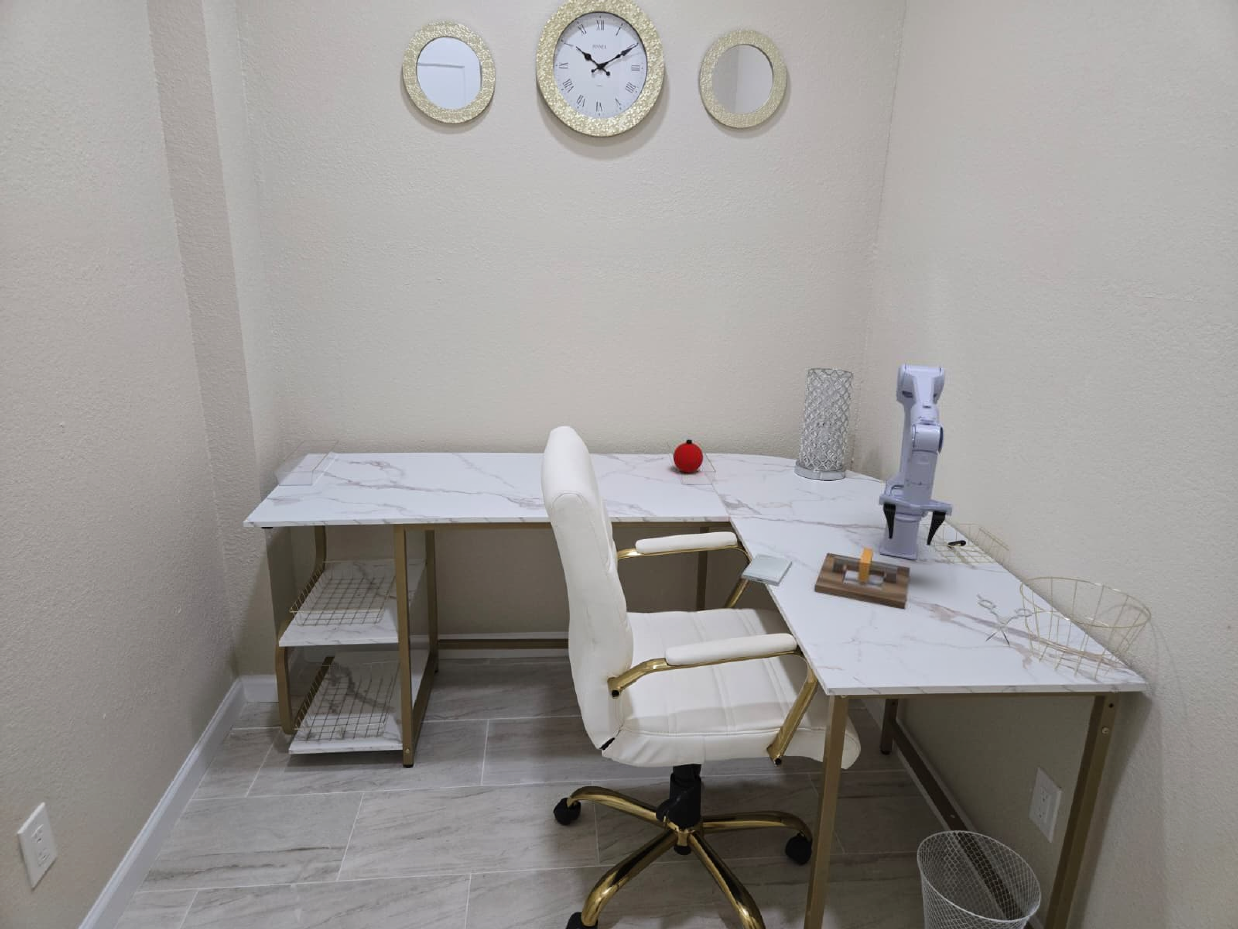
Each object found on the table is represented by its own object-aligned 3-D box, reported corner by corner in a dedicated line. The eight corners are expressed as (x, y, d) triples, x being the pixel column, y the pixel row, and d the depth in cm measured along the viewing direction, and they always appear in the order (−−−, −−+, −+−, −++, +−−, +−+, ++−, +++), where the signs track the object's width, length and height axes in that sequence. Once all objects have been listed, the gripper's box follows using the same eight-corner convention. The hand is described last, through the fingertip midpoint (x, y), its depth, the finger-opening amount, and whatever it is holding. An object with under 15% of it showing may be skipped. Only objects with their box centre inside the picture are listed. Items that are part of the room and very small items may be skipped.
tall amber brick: (861, 566, 175) (863, 547, 174) (870, 568, 174) (873, 549, 173) (857, 581, 168) (859, 561, 166) (867, 583, 167) (869, 563, 166)
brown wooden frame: (826, 558, 182) (827, 552, 182) (909, 573, 176) (910, 567, 176) (814, 591, 167) (815, 584, 166) (904, 609, 160) (905, 602, 160)
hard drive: (757, 553, 182) (741, 573, 171) (792, 560, 179) (778, 581, 168) (756, 559, 182) (740, 580, 172) (792, 566, 179) (778, 588, 168)
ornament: (694, 478, 234) (696, 445, 231) (667, 472, 238) (669, 440, 235) (707, 470, 242) (709, 438, 238) (680, 465, 246) (682, 434, 243)
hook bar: (833, 568, 174) (835, 555, 173) (895, 580, 170) (897, 566, 169) (832, 572, 172) (834, 558, 171) (895, 583, 168) (897, 570, 167)
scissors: (1033, 606, 163) (1029, 650, 146) (1032, 610, 163) (1028, 654, 146) (977, 594, 167) (967, 634, 150) (976, 597, 168) (967, 638, 151)
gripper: (881, 480, 165) (872, 541, 169) (956, 491, 160) (945, 553, 164) (883, 471, 171) (875, 529, 175) (956, 481, 166) (945, 541, 170)
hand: (909, 540), depth 170 cm, fingers open, 7 cm apart
